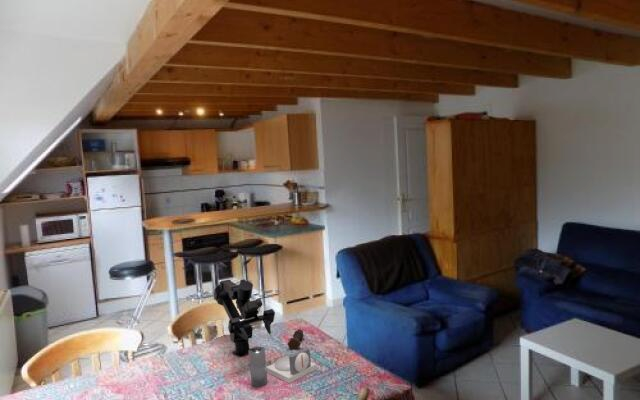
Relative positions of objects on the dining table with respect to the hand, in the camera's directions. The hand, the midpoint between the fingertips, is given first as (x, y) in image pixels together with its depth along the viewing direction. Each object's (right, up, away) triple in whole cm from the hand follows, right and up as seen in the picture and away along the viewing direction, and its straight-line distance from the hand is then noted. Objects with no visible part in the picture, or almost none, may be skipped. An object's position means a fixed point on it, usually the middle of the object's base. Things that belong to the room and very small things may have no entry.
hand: (259, 336), depth 166 cm
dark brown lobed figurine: (+13, -12, +28) cm, 34 cm away
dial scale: (+12, -14, +2) cm, 19 cm away
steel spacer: (+1, -16, -6) cm, 17 cm away
